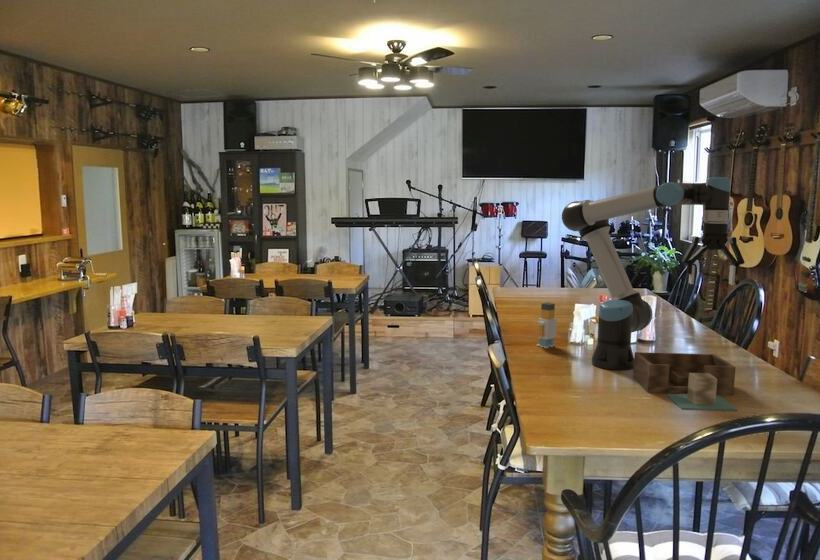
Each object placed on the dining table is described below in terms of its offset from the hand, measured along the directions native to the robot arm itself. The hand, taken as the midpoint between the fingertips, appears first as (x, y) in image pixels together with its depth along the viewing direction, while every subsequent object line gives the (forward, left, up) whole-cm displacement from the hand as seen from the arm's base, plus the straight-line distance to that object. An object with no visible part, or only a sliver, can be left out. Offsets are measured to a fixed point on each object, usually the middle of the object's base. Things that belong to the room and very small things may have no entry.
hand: (711, 284), depth 221 cm
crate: (-14, -17, -32) cm, 39 cm away
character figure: (-51, +35, -32) cm, 69 cm away
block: (-14, -34, -31) cm, 48 cm away
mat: (-14, -34, -32) cm, 49 cm away
